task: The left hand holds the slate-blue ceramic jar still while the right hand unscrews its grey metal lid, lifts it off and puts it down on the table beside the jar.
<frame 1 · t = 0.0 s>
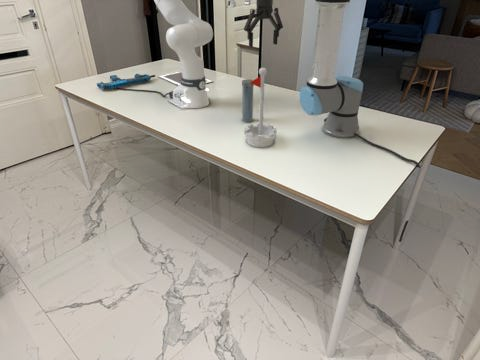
left hand: (240, 6, 136), 48 cm above the table, tool pointing down, fingers open, 8 cm apart
right hand: (263, 45, 167), 28 cm above the table, tool pointing down, fingers open, 13 cm apart
submachine gun: (125, 82, 209), on the table
lid: (247, 81, 150), point 18 cm above the table, screwed on, not yet turned
flag stand: (260, 141, 141), on the table
jar: (247, 120, 160), on the table
tablet: (185, 79, 214), on the table
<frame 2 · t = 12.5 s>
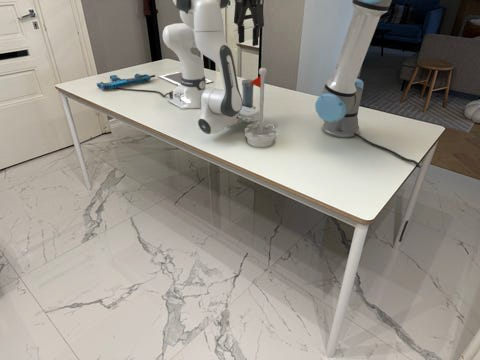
left hand: (248, 106, 157), 7 cm above the table, tool horizontal, fingers closed on jar, 5 cm apart
right hand: (248, 43, 141), 34 cm above the table, tool pointing down, fingers open, 7 cm apart
jar: (247, 120, 160), on the table, touching left hand
everything else where it was.
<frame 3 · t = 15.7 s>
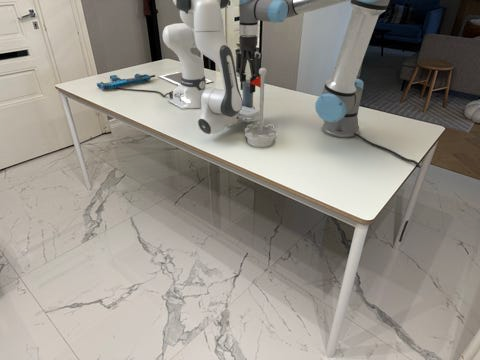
left hand: (248, 106, 157), 7 cm above the table, tool horizontal, fingers closed on jar, 5 cm apart
right hand: (247, 90, 152), 14 cm above the table, tool pointing down, fingers closed on lid, 5 cm apart
lid: (247, 81, 150), point 18 cm above the table, screwed on, not yet turned, touching right hand
jar: (247, 120, 160), on the table, touching left hand
everything else where it was.
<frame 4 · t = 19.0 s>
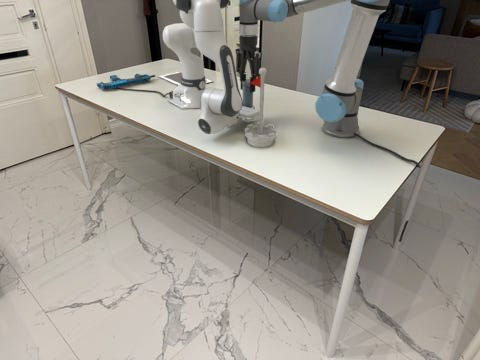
left hand: (248, 106, 157), 7 cm above the table, tool horizontal, fingers closed on jar, 5 cm apart
right hand: (247, 90, 152), 14 cm above the table, tool pointing down, fingers closed on lid, 5 cm apart
lid: (247, 81, 150), point 18 cm above the table, turned 103° so far, risen 0.1 cm, still on its thread, touching right hand
jar: (247, 120, 160), on the table, touching left hand
everything else where it was.
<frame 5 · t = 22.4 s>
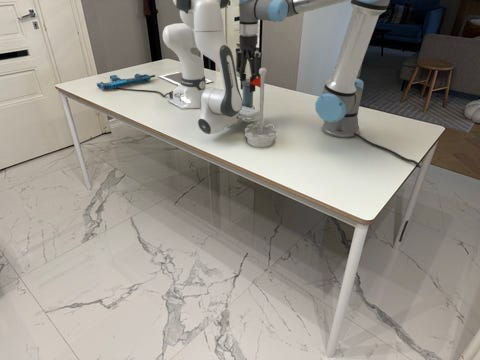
left hand: (248, 106, 157), 7 cm above the table, tool horizontal, fingers closed on jar, 5 cm apart
right hand: (247, 90, 152), 15 cm above the table, tool pointing down, fingers closed on lid, 5 cm apart
lid: (247, 81, 150), point 19 cm above the table, turned 206° so far, risen 0.3 cm, still on its thread, touching right hand
jar: (247, 120, 160), on the table, touching left hand
everything else where it was.
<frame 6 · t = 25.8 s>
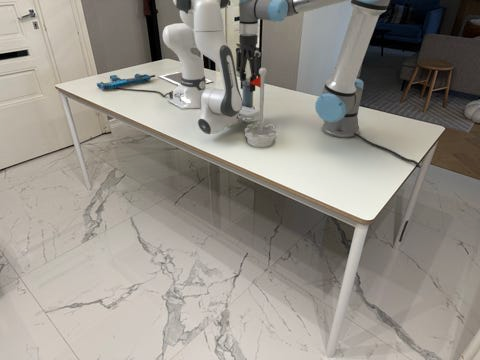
left hand: (248, 106, 157), 7 cm above the table, tool horizontal, fingers closed on jar, 5 cm apart
right hand: (247, 89, 152), 15 cm above the table, tool pointing down, fingers closed on lid, 5 cm apart
lid: (247, 80, 149), point 19 cm above the table, turned 309° so far, risen 0.4 cm, still on its thread, touching right hand
jar: (247, 120, 160), on the table, touching left hand
everything else where it was.
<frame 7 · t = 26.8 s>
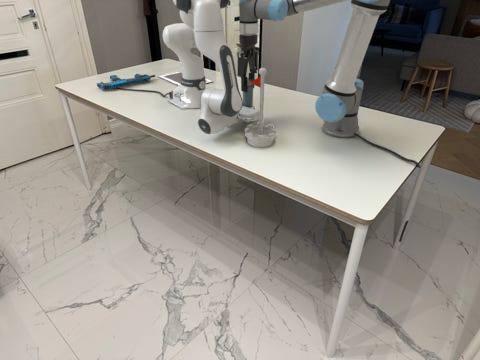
left hand: (248, 106, 157), 7 cm above the table, tool horizontal, fingers closed on jar, 5 cm apart
right hand: (247, 89, 152), 15 cm above the table, tool pointing down, fingers closed on lid, 5 cm apart
lid: (248, 80, 149), point 19 cm above the table, off its thread, touching right hand
jar: (247, 120, 160), on the table, touching left hand
everything else where it was.
when the right hand's fingers open (0 cm above the table, at t = 34.6 s): lid drops 3 cm, point 1 cm above the table.
when the left hand's fingers open (7 cm above the table, at t = 35.2 s): jar stays where it is, on the table.
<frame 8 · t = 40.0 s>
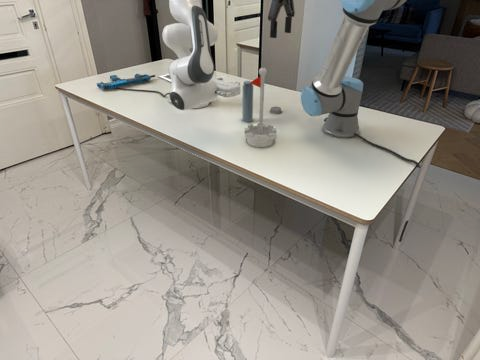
left hand: (230, 81, 141), 21 cm above the table, tool horizontal, fingers open, 8 cm apart
right hand: (280, 35, 149), 36 cm above the table, tool pointing down, fingers open, 13 cm apart
lid: (275, 109, 168), point 1 cm above the table, off its thread
jar: (247, 120, 160), on the table
everything else where it was.
at the end: lid came off its thread; lid point 1.5 cm above the table; the left hand is holding nothing; the right hand is holding nothing; jar tilted 0°; jar moved 0.0 cm from its start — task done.
